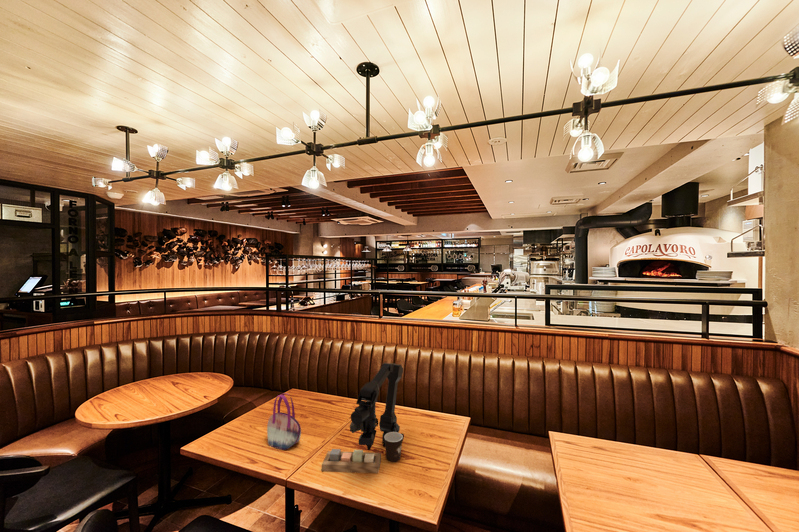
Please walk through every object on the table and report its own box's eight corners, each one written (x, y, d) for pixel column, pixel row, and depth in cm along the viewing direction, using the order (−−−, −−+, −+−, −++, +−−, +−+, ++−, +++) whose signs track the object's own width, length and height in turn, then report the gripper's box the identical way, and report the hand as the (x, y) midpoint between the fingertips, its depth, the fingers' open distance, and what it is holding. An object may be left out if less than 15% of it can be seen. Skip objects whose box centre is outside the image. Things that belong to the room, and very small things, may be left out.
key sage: (363, 458, 143) (363, 450, 143) (361, 464, 139) (361, 455, 139) (354, 458, 143) (354, 449, 143) (352, 463, 139) (352, 455, 139)
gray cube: (340, 457, 143) (340, 449, 143) (338, 463, 139) (338, 454, 139) (332, 457, 144) (332, 448, 144) (329, 463, 140) (329, 454, 140)
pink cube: (351, 461, 143) (351, 452, 143) (349, 467, 139) (349, 458, 139) (343, 461, 143) (343, 452, 143) (341, 466, 139) (341, 458, 139)
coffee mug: (389, 466, 140) (389, 443, 140) (381, 455, 148) (381, 434, 148) (411, 458, 146) (411, 437, 146) (402, 449, 153) (402, 428, 153)
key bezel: (381, 459, 145) (380, 452, 145) (378, 473, 135) (378, 466, 135) (328, 457, 147) (328, 451, 147) (321, 471, 137) (321, 464, 137)
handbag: (260, 443, 158) (260, 394, 158) (275, 433, 167) (275, 387, 167) (292, 453, 150) (292, 401, 149) (306, 443, 159) (306, 394, 159)
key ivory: (374, 462, 142) (374, 453, 142) (373, 468, 138) (373, 459, 138) (365, 462, 143) (365, 453, 143) (364, 467, 139) (364, 458, 139)
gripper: (355, 405, 150) (355, 437, 150) (346, 424, 132) (346, 461, 132) (378, 405, 150) (378, 438, 150) (372, 425, 131) (372, 462, 131)
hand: (369, 449), depth 140 cm, fingers closed
